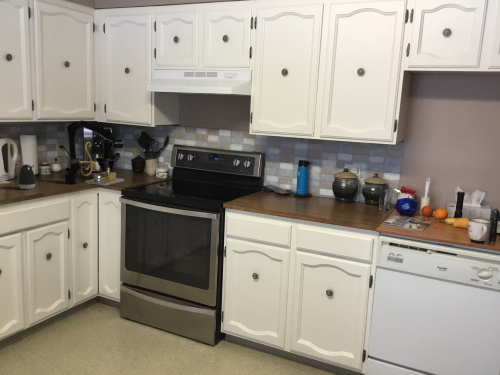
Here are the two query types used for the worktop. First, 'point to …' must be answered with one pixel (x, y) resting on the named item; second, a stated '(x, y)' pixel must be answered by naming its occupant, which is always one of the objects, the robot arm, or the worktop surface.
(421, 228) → the worktop surface
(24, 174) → the pump dispenser
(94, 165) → the wall sconce
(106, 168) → the lever with copper knob
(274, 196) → the worktop surface
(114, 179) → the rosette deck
